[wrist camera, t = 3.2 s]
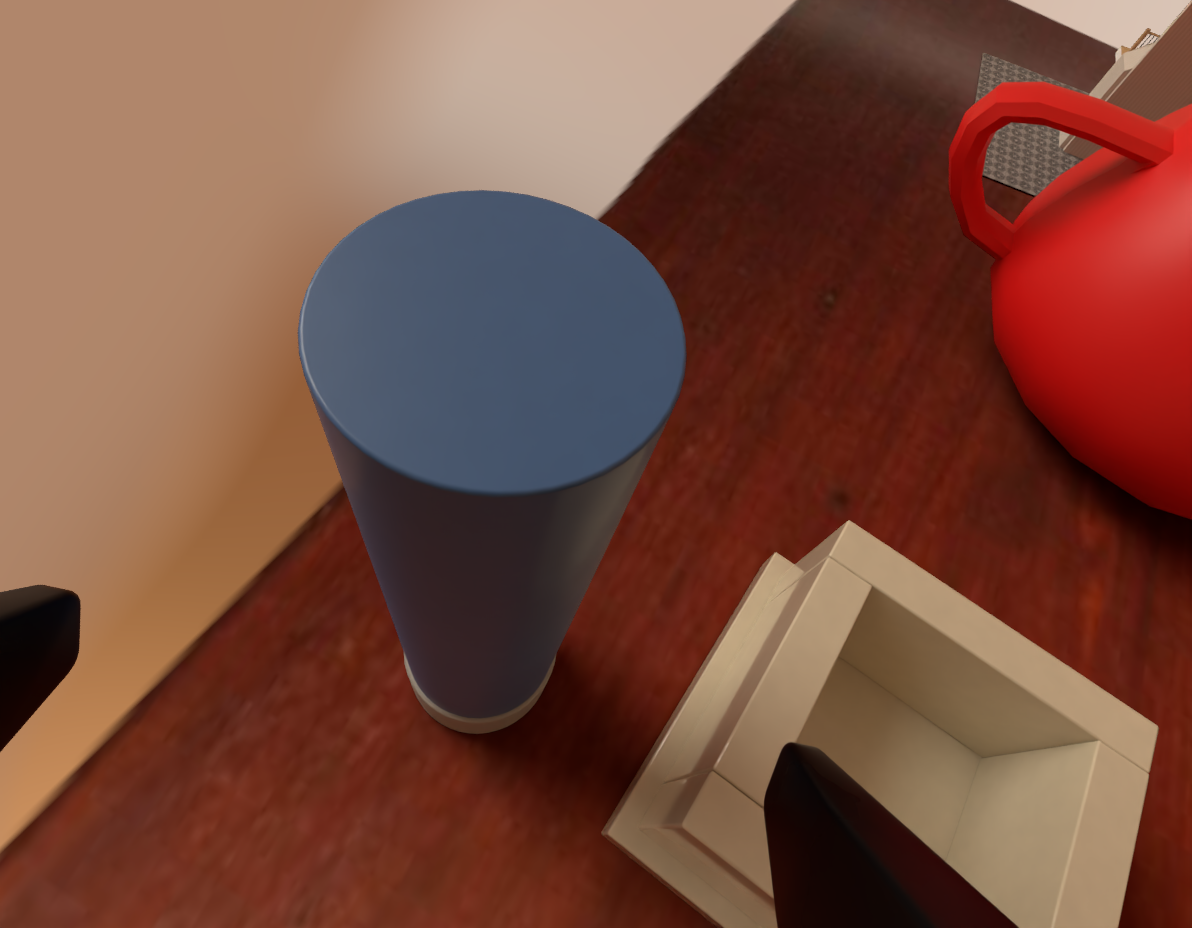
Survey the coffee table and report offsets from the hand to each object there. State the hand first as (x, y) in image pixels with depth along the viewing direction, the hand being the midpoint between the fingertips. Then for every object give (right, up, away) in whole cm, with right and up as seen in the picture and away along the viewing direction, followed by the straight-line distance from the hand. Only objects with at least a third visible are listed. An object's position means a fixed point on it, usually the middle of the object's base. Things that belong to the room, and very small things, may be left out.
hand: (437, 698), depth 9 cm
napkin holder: (+29, +19, +27) cm, 43 cm away
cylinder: (-1, -2, +10) cm, 10 cm away
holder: (+8, -6, +10) cm, 14 cm away
